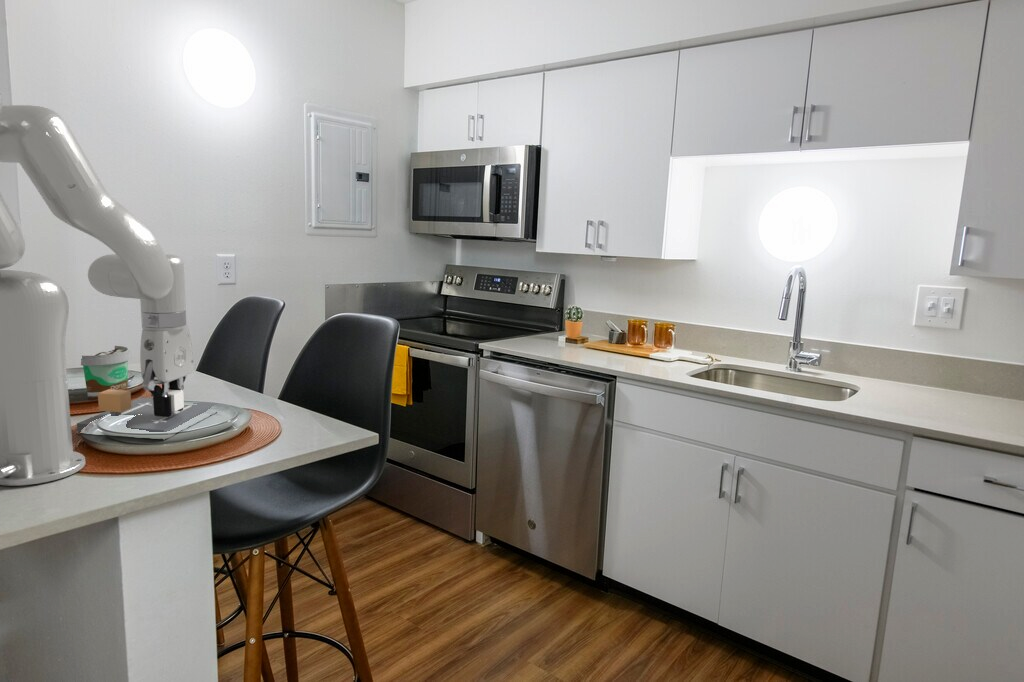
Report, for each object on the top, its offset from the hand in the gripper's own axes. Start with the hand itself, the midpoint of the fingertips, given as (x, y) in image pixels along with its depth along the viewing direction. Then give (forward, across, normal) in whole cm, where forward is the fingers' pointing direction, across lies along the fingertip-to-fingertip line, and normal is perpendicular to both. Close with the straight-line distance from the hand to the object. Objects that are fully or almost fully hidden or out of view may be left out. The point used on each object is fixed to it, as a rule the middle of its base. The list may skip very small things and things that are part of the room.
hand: (168, 412), depth 126 cm
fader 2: (0, 0, 0) cm, 0 cm away
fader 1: (0, -3, +9) cm, 9 cm away
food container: (+3, +17, +24) cm, 30 cm away
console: (+3, +1, +4) cm, 5 cm away
